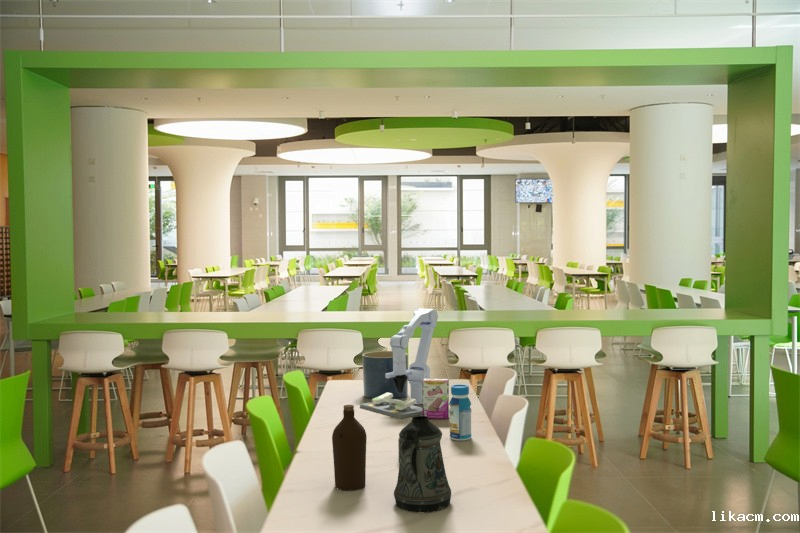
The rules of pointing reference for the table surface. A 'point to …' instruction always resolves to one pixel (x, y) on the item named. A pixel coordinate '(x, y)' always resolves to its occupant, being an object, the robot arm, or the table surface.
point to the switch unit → (393, 409)
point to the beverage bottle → (460, 413)
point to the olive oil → (349, 452)
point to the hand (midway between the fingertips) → (400, 392)
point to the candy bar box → (436, 398)
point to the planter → (380, 375)
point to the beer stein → (421, 469)
